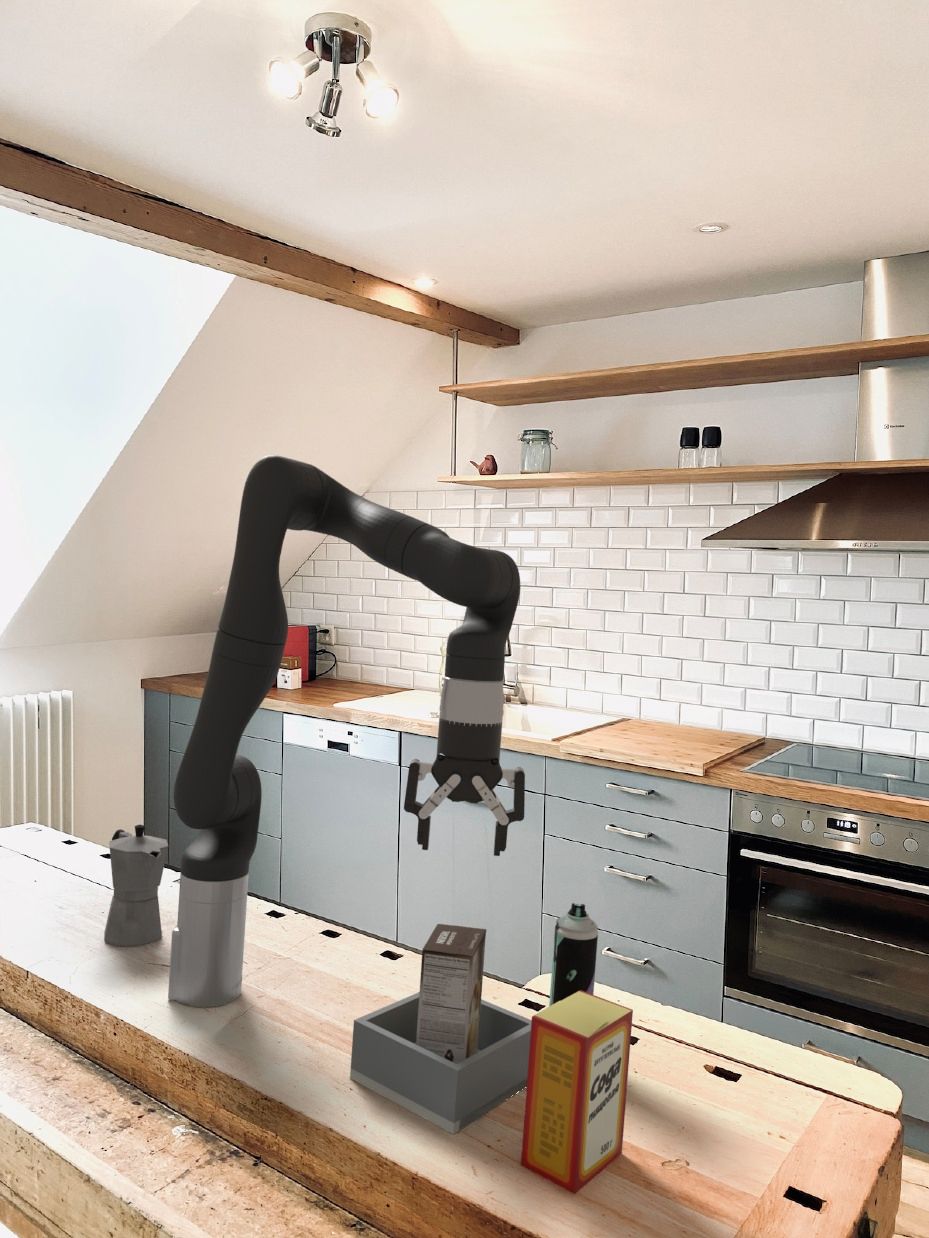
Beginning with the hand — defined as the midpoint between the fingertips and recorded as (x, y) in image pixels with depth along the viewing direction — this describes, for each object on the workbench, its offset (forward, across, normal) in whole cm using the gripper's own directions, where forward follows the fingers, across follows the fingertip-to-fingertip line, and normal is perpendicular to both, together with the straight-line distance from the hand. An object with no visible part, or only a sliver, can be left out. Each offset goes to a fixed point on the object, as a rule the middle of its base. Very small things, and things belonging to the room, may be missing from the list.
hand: (461, 851), depth 113 cm
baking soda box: (+28, +14, -14) cm, 34 cm away
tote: (+28, 0, 0) cm, 28 cm away
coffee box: (+27, 0, 0) cm, 27 cm away
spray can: (+28, +15, +8) cm, 33 cm away
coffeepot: (+28, -52, +37) cm, 70 cm away
